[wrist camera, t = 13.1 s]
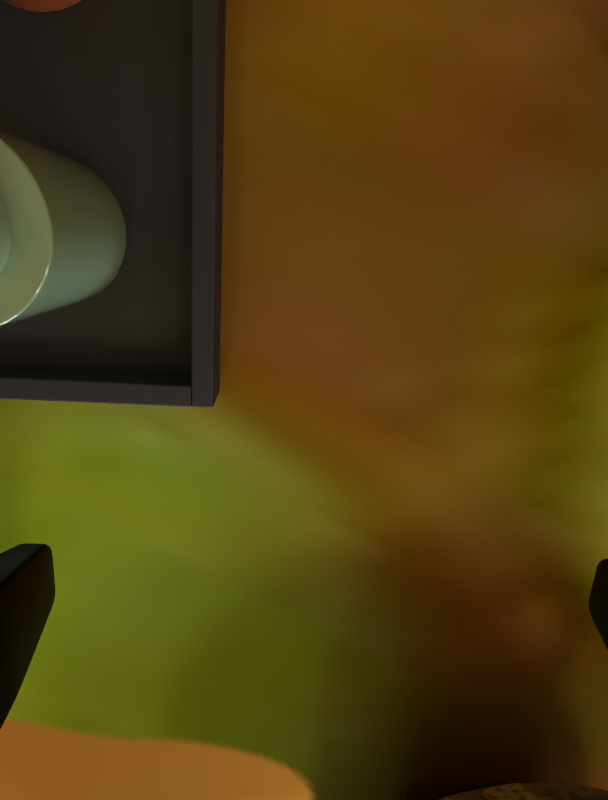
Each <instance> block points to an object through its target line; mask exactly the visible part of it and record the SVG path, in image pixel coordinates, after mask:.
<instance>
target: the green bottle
mask: <svg viewBox="0 0 608 800" xmlns="http://www.w3.org/2000/svg"><path fill="white" fill-rule="evenodd" d="M125 249H126V227H125V222H124V218H123V214H122V211H121V209H120V206H119V204H118V202H117V200H116V198H115V196H114V195H113V193H112V192H111V190H110V188H109V187H108V186H107V185H106V184H105V182H104V181H103V180H102V179H101V178H100V177H99V176H98V175H97V174H96V173H95V172H93V171H92V170H91V169H89V168H88V167H87V166H85V165H83V164H81V163H80V162H78V161H76V160H73V159H71V158H69V157H66V156H64V155H61V154H59V153H56V152H54V151H51V150H48V149H46V148H43V147H41V146H38V145H36V144H33V143H31V142H28V141H25V140H23V139H20V138H18V137H15V136H13V135H10V134H8V133H5V132H2V131H0V327H1V326H4V325H7V324H10V323H13V322H16V321H19V320H23V319H26V318H29V317H32V316H35V315H38V314H42V313H45V312H48V311H51V310H54V309H57V308H61V307H64V306H67V305H70V304H73V303H76V302H80V301H83V300H86V299H88V298H90V297H92V296H94V295H96V294H97V293H99V292H101V291H102V290H103V289H104V288H105V287H107V286H108V284H109V283H110V282H111V281H112V280H113V279H114V277H115V276H116V274H117V273H118V271H119V268H120V266H121V264H122V261H123V258H124V255H125Z"/></svg>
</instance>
